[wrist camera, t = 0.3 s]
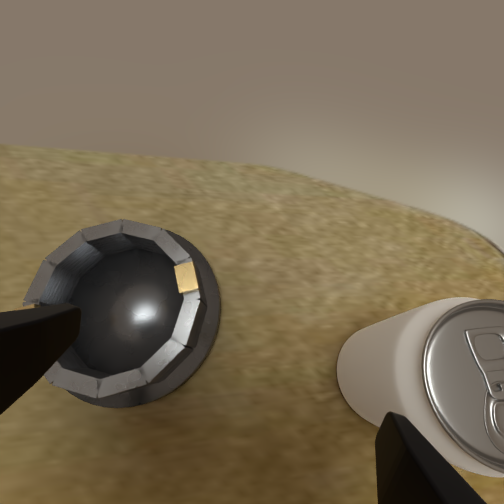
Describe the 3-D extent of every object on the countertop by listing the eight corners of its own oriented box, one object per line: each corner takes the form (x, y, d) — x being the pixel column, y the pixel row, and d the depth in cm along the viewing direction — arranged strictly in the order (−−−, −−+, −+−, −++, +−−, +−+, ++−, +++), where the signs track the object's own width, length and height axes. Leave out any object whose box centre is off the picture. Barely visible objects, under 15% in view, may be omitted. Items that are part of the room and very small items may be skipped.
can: (344, 431, 21) (440, 505, 10) (327, 330, 23) (390, 295, 12) (442, 421, 21) (652, 485, 10) (416, 322, 23) (563, 279, 12)
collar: (240, 375, 22) (234, 377, 18) (52, 430, 21) (-1, 446, 17) (200, 214, 27) (188, 184, 22) (43, 254, 26) (-1, 232, 21)
